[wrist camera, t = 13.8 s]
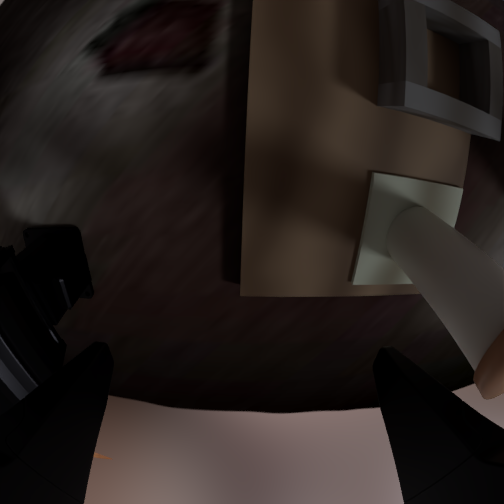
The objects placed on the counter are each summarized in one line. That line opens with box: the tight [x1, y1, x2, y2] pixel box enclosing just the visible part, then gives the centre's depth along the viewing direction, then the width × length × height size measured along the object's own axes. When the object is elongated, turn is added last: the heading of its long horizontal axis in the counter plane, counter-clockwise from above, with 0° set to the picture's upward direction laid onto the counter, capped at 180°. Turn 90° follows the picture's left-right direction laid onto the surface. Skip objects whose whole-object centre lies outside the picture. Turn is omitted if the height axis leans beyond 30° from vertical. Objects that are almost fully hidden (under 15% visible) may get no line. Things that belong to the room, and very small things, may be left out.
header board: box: [240, 0, 503, 297], centre depth 16 cm, size 17×23×5 cm
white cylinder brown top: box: [386, 206, 504, 399], centre depth 13 cm, size 5×5×13 cm
